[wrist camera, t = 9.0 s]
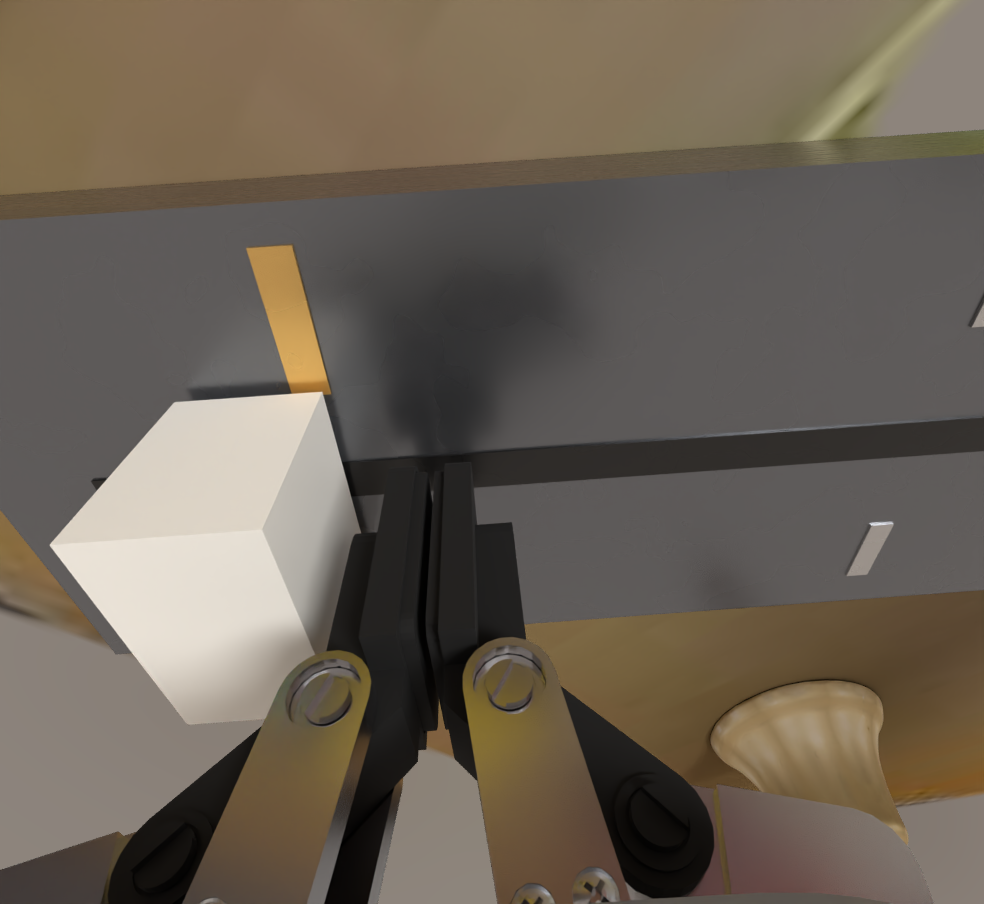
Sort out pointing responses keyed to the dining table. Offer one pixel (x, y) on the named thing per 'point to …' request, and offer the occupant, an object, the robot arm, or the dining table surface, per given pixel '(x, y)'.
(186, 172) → the dining table surface
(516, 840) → the robot arm
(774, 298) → the fader panel
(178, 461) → the fader knob
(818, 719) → the hand bell
